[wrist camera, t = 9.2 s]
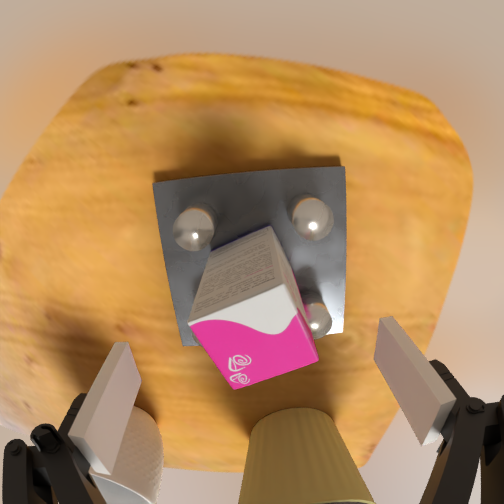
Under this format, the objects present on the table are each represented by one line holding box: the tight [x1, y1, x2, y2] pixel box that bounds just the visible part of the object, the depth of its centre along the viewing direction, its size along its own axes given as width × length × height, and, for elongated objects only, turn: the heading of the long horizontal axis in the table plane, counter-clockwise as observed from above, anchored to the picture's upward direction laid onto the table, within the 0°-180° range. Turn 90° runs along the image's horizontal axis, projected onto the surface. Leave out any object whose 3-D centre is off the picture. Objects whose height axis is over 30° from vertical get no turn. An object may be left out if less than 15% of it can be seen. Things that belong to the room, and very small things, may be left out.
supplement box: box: [187, 224, 319, 390], centre depth 22 cm, size 6×6×12 cm
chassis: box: [152, 166, 346, 347], centre depth 26 cm, size 16×16×4 cm
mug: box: [89, 406, 164, 504], centre depth 29 cm, size 15×11×13 cm
